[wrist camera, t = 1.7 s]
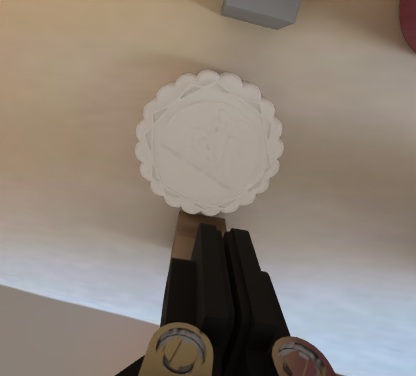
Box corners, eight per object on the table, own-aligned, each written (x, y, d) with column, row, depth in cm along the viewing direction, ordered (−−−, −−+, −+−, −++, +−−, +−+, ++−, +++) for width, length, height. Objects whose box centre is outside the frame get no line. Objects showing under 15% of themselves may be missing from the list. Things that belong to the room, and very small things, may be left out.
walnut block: (224, 218, 29) (228, 244, 25) (214, 255, 31) (216, 285, 27) (179, 210, 29) (176, 235, 25) (172, 248, 31) (167, 278, 26)
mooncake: (303, 124, 26) (318, 133, 23) (223, 223, 30) (226, 243, 26) (189, 36, 23) (188, 32, 20) (116, 158, 27) (104, 171, 23)
